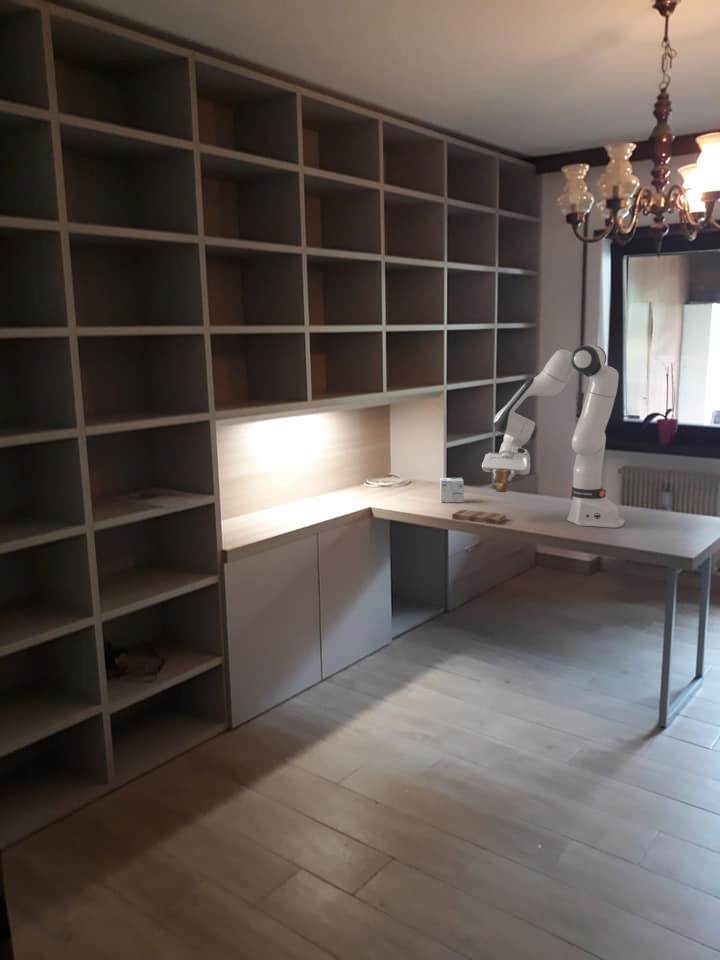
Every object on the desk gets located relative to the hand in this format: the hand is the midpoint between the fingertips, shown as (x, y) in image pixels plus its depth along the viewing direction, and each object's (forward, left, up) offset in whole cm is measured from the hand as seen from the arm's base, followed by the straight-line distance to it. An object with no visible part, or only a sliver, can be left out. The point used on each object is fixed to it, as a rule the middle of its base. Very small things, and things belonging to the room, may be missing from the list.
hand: (501, 480), depth 326 cm
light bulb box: (+30, -19, -16) cm, 39 cm away
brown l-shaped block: (0, +2, -5) cm, 5 cm away
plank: (+7, +7, -16) cm, 19 cm away
